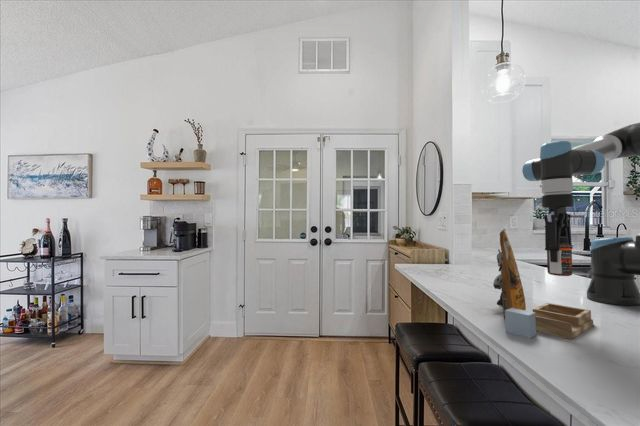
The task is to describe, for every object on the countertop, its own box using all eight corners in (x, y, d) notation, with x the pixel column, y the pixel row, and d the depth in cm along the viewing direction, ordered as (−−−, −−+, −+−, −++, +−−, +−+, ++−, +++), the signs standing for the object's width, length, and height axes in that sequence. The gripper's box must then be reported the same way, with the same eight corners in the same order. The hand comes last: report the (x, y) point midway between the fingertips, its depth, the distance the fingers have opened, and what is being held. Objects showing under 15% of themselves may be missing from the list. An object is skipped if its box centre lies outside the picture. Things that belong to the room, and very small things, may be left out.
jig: (545, 315, 103) (545, 302, 103) (593, 324, 93) (592, 310, 93) (520, 327, 92) (520, 313, 92) (571, 339, 82) (571, 323, 82)
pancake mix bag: (494, 320, 98) (491, 229, 99) (505, 306, 113) (503, 227, 114) (520, 325, 94) (517, 230, 95) (528, 309, 109) (525, 227, 109)
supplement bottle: (564, 277, 91) (563, 237, 91) (543, 274, 96) (541, 236, 96) (577, 275, 93) (575, 236, 93) (555, 272, 99) (553, 235, 99)
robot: (506, 310, 108) (504, 251, 109) (490, 308, 112) (488, 250, 112) (519, 299, 123) (517, 247, 123) (504, 297, 126) (503, 246, 127)
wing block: (512, 328, 91) (511, 307, 91) (536, 334, 86) (535, 312, 86) (505, 332, 89) (504, 310, 89) (529, 338, 84) (528, 315, 84)
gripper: (554, 195, 104) (556, 267, 103) (529, 194, 93) (532, 274, 92) (583, 193, 98) (586, 269, 97) (560, 192, 87) (563, 277, 86)
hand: (559, 271), depth 95 cm, fingers closed on supplement bottle, 6 cm apart
